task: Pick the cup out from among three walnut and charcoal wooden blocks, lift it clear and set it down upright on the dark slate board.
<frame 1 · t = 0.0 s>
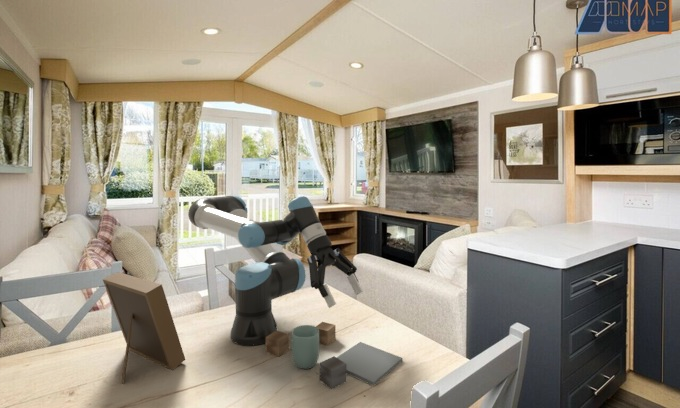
hand: (346, 299, 107), 15 cm above the table, tool tilted 35°, fingers open, 13 cm apart
slate board: (366, 363, 99), on the table
cup: (305, 365, 99), on the table
photo frame: (138, 365, 98), on the table
charcoal block front: (332, 381, 91), on the table
walnut block near: (277, 351, 106), on the table
walnut block left: (324, 341, 113), on the table
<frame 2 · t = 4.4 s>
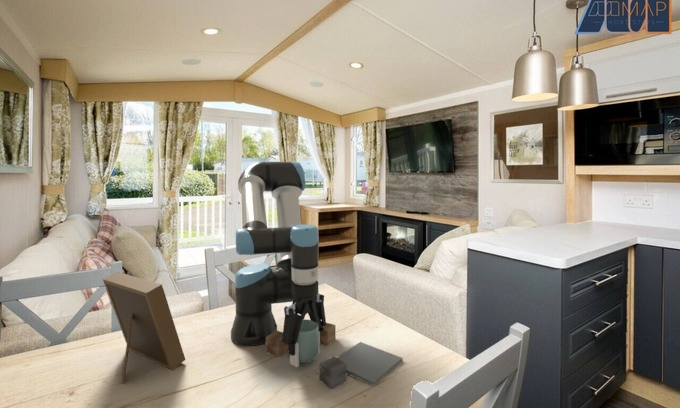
hand: (305, 357, 99), 2 cm above the table, tool pointing down, fingers closed on cup, 8 cm apart
cup: (305, 359, 99), point 1 cm above the table, touching gripper
everything else where it was.
when the fingers open (2 cm above the table, at t = 10.0 s): cup stays where it is, resting on slate board.
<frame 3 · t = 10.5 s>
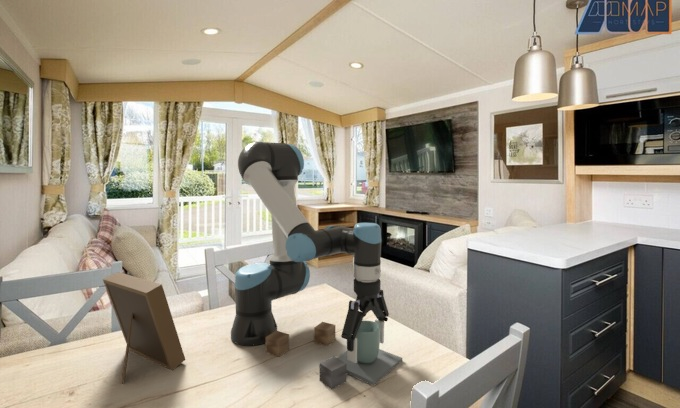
hand: (366, 350, 99), 4 cm above the table, tool pointing down, fingers open, 13 cm apart
cup: (365, 360, 99), point 1 cm above the table, touching slate board
everything else where it was.
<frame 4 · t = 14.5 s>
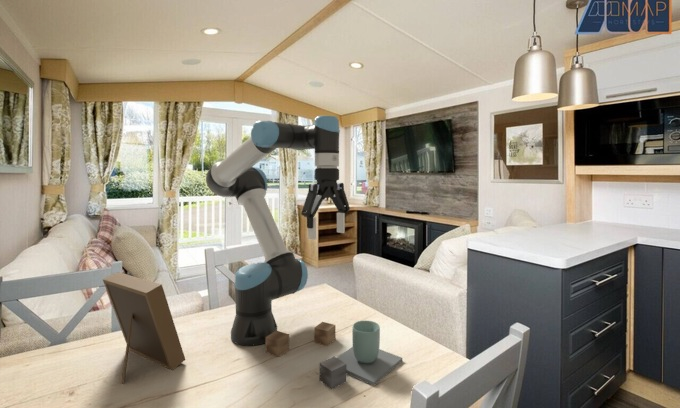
hand: (327, 235, 109), 35 cm above the table, tool pointing down, fingers open, 13 cm apart
nothing on the table moved.
at the end: cup inside the target area on the slate board (0.1 cm from its centre), point 0.8 cm above the slate board's base; cup tilted 0°; the gripper is holding nothing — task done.
